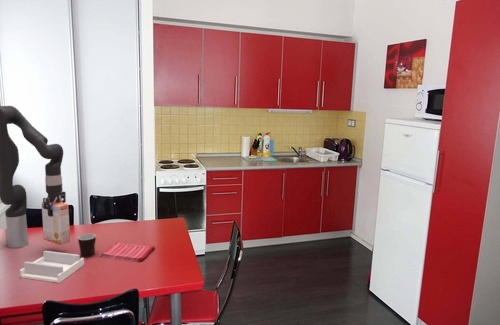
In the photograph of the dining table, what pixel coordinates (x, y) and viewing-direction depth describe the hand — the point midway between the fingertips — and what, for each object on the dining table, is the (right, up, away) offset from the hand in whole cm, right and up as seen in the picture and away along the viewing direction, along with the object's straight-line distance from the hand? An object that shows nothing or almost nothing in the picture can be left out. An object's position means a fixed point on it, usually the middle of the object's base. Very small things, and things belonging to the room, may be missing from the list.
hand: (55, 213), depth 192 cm
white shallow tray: (+8, -25, -16) cm, 31 cm away
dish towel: (+36, -22, +5) cm, 43 cm away
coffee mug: (+16, -22, +3) cm, 27 cm away
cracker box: (-1, -15, +3) cm, 15 cm away
